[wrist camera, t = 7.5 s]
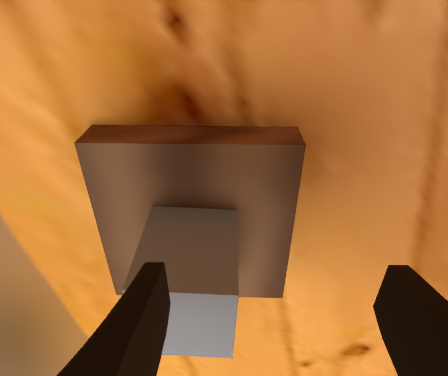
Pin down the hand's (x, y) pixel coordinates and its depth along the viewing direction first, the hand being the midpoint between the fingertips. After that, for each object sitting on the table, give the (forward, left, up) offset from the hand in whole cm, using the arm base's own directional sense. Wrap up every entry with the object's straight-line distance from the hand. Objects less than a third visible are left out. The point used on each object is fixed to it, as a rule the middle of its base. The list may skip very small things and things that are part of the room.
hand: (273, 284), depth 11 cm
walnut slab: (+4, +5, -11) cm, 12 cm away
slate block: (+4, +5, -8) cm, 10 cm away
